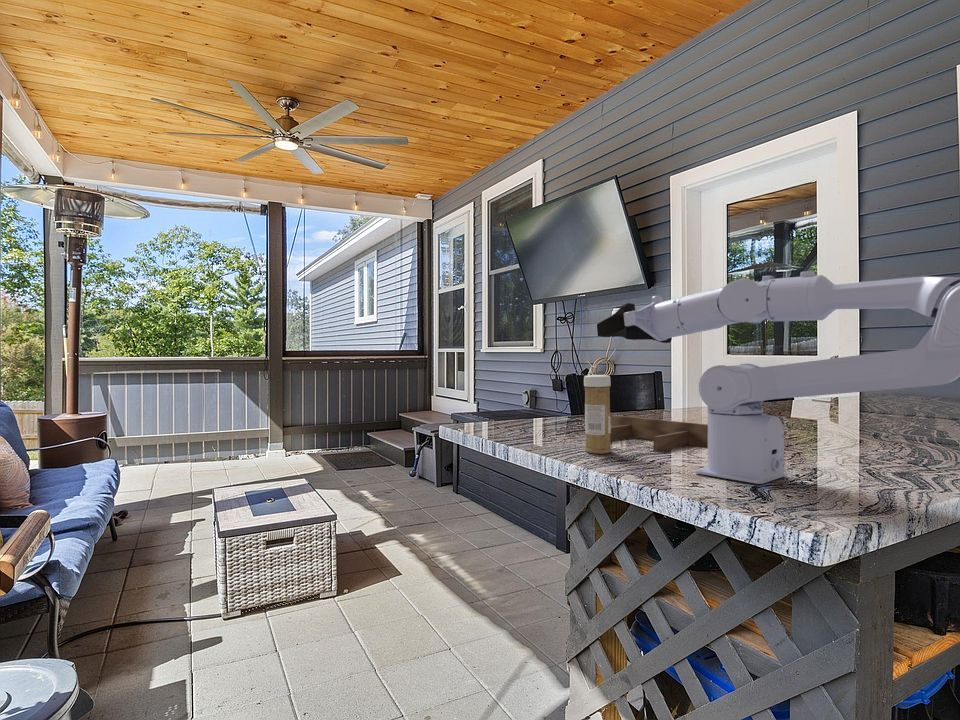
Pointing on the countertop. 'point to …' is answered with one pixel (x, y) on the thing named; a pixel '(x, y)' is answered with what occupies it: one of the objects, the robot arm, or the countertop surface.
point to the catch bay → (660, 432)
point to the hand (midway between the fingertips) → (612, 331)
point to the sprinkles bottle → (597, 414)
